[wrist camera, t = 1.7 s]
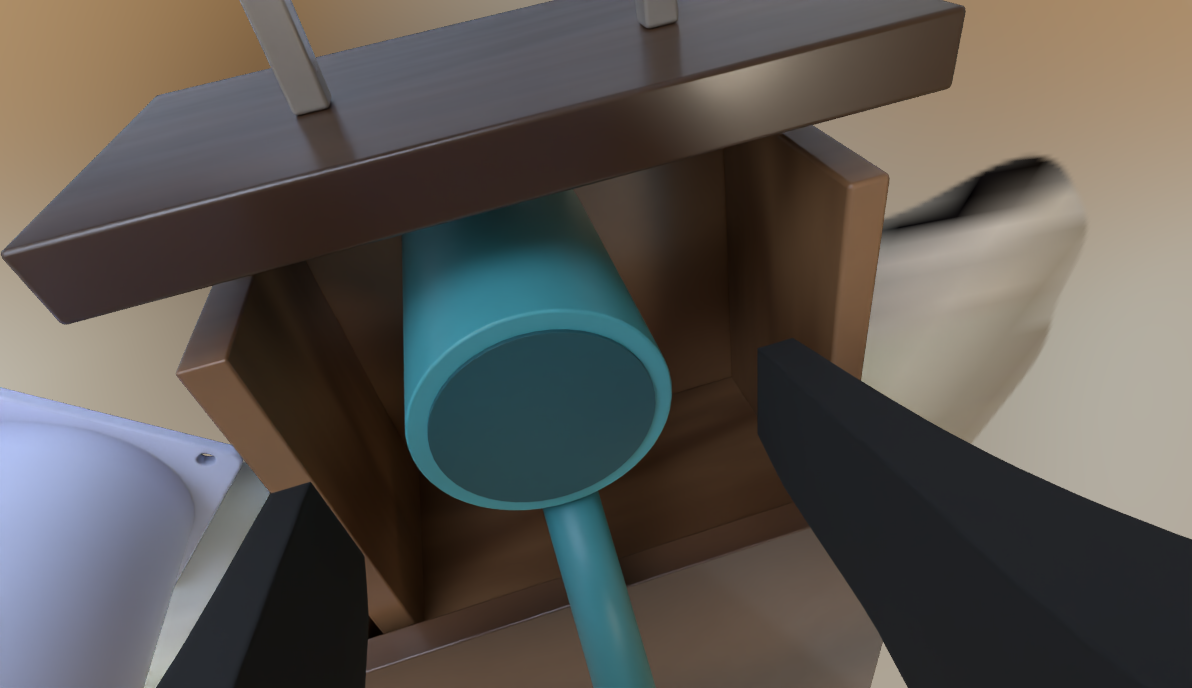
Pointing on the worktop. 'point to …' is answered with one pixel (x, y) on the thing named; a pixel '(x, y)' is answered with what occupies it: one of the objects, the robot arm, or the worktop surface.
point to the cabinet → (662, 621)
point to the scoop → (536, 393)
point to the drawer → (485, 183)
